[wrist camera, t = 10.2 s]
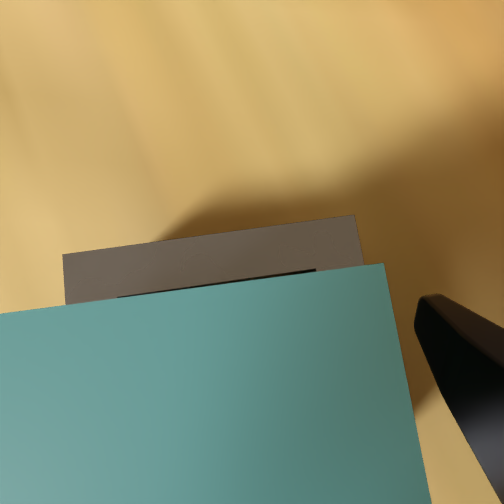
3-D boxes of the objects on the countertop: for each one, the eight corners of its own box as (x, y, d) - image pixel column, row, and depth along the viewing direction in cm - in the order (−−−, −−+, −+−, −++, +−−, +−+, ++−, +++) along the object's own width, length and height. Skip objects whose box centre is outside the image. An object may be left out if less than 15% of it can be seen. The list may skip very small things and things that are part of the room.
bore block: (362, 466, 16) (418, 530, 11) (134, 506, 15) (83, 591, 10) (321, 246, 17) (354, 214, 12) (114, 275, 17) (62, 254, 12)
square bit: (288, 410, 16) (478, 737, 3) (189, 424, 16) (-20, 839, 3) (273, 311, 17) (383, 262, 4) (178, 324, 17) (-27, 317, 4)
